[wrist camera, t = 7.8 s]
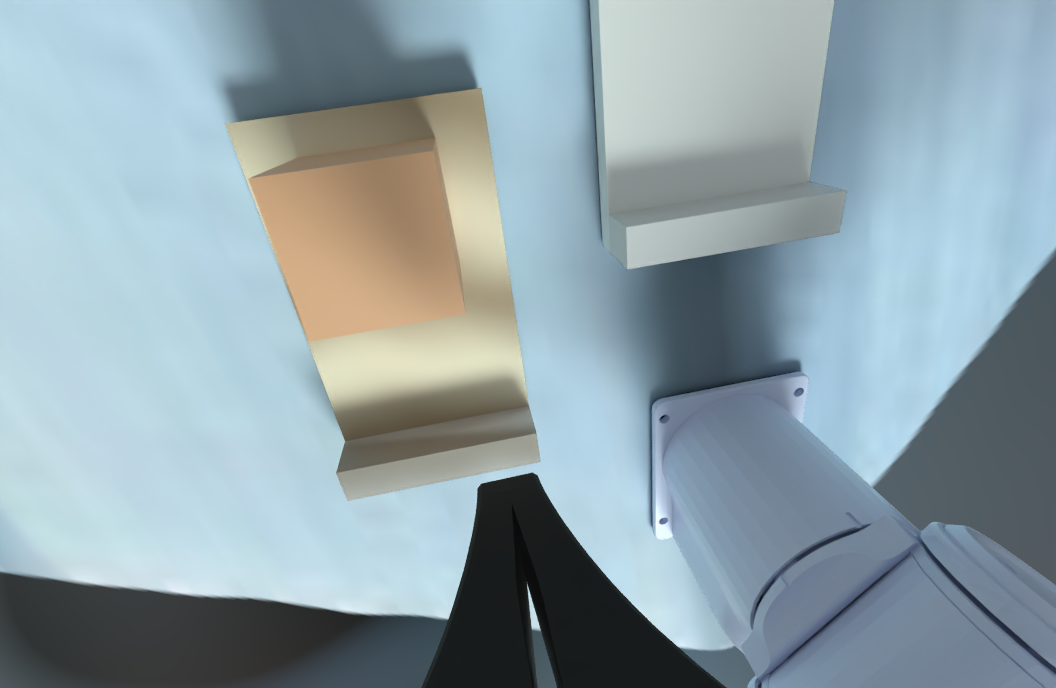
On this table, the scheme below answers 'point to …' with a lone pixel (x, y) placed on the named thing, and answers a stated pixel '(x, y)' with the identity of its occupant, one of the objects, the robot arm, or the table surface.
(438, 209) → the block
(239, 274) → the table surface
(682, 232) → the grey strip
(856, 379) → the table surface
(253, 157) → the beige lipped tray
